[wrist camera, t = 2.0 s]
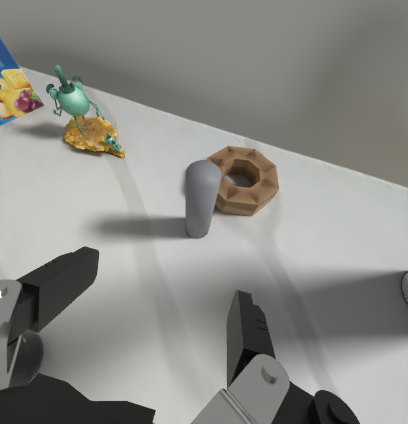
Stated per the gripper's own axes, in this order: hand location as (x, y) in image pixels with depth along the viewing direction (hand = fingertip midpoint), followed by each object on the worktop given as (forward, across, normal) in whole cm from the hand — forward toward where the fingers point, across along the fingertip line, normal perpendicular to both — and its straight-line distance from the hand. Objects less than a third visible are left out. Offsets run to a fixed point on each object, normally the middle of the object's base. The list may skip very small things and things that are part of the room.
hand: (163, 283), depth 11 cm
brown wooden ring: (+30, -5, -4) cm, 31 cm away
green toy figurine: (+33, +27, -5) cm, 43 cm away
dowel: (+23, 0, +4) cm, 23 cm away
